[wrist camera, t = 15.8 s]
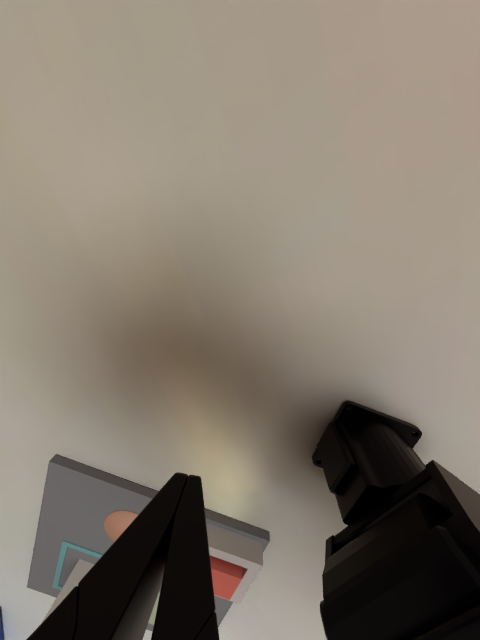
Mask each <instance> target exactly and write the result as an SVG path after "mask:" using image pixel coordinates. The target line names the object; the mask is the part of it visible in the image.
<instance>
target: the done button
mask: <svg viewBox="0 0 480 640" xmlns="http://www.w3.org/2000/svg"><path fill="white" fill-rule="evenodd" d="M210 563H211V572H212V581H213V590H214V595H216V596H219V597H222V598H225V599H227V600H230V599H231V597H232V595H233V594H234V592H235V590H236V589H237V587H238V585H239V583H240V582H241V580H242V570H243V567H241V566H239V565H236V564H233V563H230V562H228V561H225V560H222V559H219V558H216V557H214V556H211V555H210Z"/></svg>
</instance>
